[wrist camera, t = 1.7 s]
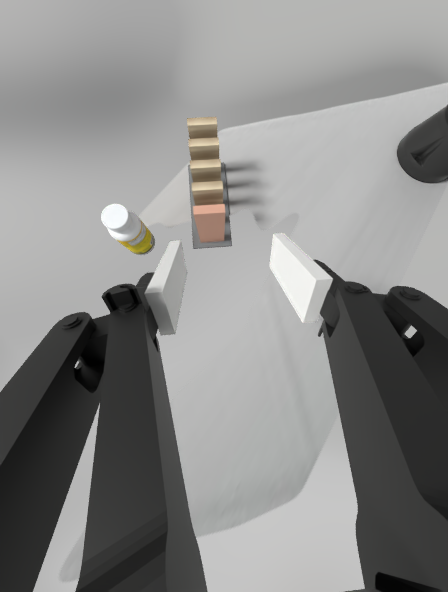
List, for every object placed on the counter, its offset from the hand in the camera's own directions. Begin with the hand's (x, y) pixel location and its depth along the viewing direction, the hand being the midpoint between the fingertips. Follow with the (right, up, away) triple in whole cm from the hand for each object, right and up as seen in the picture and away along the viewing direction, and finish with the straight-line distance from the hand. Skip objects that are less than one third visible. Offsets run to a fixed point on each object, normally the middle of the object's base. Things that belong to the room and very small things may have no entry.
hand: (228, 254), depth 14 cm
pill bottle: (-19, +9, +28) cm, 35 cm away
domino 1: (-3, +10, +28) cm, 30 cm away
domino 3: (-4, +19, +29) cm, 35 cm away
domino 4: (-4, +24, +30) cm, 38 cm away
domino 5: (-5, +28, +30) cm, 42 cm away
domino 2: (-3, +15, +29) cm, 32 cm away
